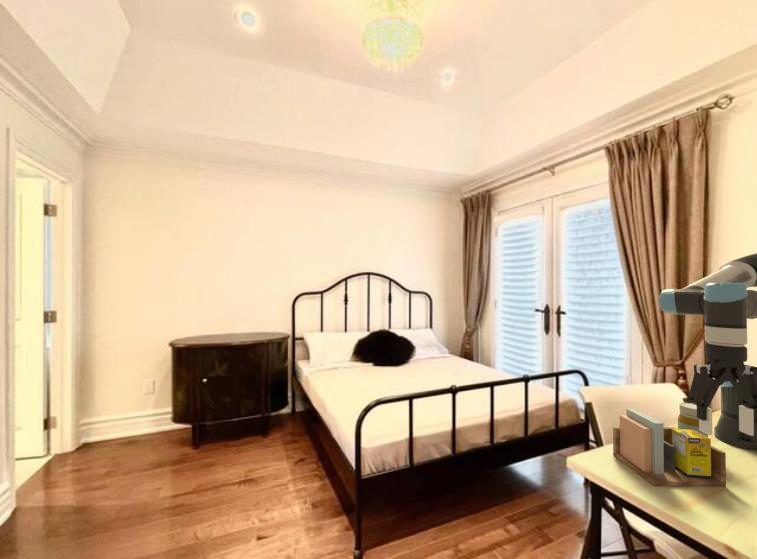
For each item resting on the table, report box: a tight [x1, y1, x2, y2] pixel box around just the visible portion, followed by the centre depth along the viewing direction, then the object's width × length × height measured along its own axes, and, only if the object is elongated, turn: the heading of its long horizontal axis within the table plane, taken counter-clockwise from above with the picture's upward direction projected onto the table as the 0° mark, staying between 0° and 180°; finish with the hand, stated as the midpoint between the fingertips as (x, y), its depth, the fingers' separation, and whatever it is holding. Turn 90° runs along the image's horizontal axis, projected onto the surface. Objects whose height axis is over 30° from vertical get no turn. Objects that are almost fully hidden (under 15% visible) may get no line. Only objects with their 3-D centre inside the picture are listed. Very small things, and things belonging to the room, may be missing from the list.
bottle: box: [677, 402, 709, 438], centre depth 108 cm, size 7×7×15 cm
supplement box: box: [672, 428, 712, 479], centre depth 95 cm, size 6×6×11 cm
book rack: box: [612, 426, 727, 488], centre depth 98 cm, size 19×16×9 cm
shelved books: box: [619, 408, 665, 474], centre depth 100 cm, size 4×11×14 cm, turn 179°
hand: (725, 433), depth 85 cm, fingers open, 9 cm apart
